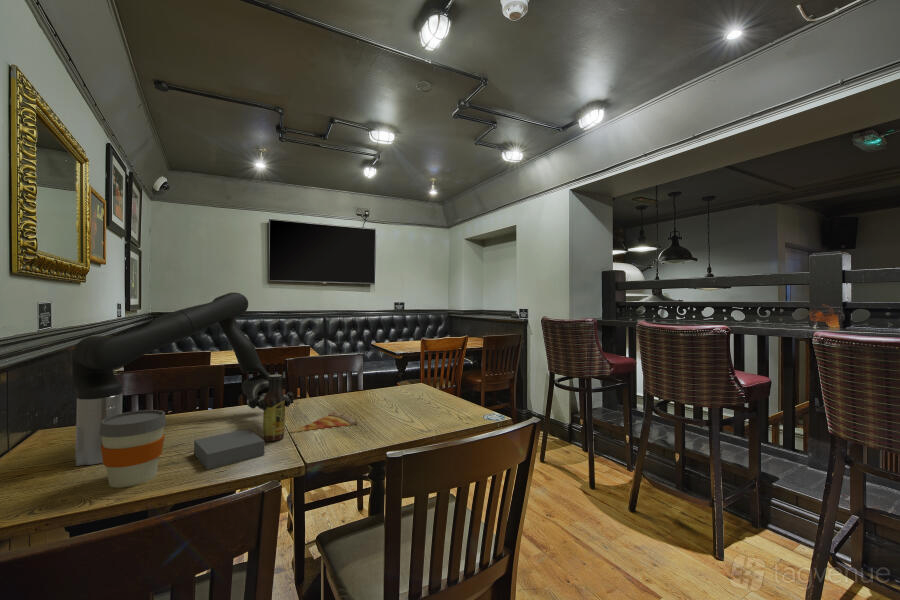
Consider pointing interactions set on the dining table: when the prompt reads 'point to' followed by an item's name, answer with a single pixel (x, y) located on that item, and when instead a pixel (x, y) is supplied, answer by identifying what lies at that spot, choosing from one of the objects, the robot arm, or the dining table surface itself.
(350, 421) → the pizza slice
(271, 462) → the dining table surface
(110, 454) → the reusable coffee cup
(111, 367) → the robot arm
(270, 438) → the sauce bottle
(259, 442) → the charcoal base
